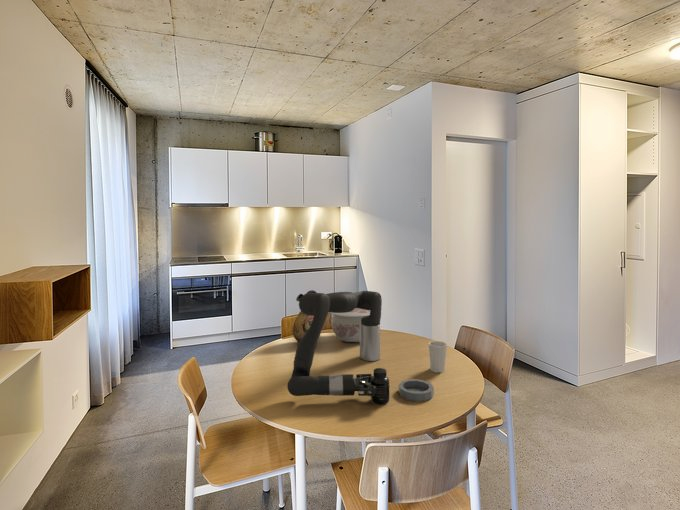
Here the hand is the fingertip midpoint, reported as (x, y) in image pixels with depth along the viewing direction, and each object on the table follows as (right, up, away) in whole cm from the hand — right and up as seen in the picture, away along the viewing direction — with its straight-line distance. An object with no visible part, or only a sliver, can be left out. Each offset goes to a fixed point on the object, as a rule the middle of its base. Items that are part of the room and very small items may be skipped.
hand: (384, 383), depth 147 cm
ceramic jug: (-34, -1, +70) cm, 78 cm away
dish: (+13, -6, +6) cm, 15 cm away
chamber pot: (-9, 0, +78) cm, 78 cm away
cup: (+27, -4, +30) cm, 41 cm away
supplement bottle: (-2, -7, +1) cm, 7 cm away
